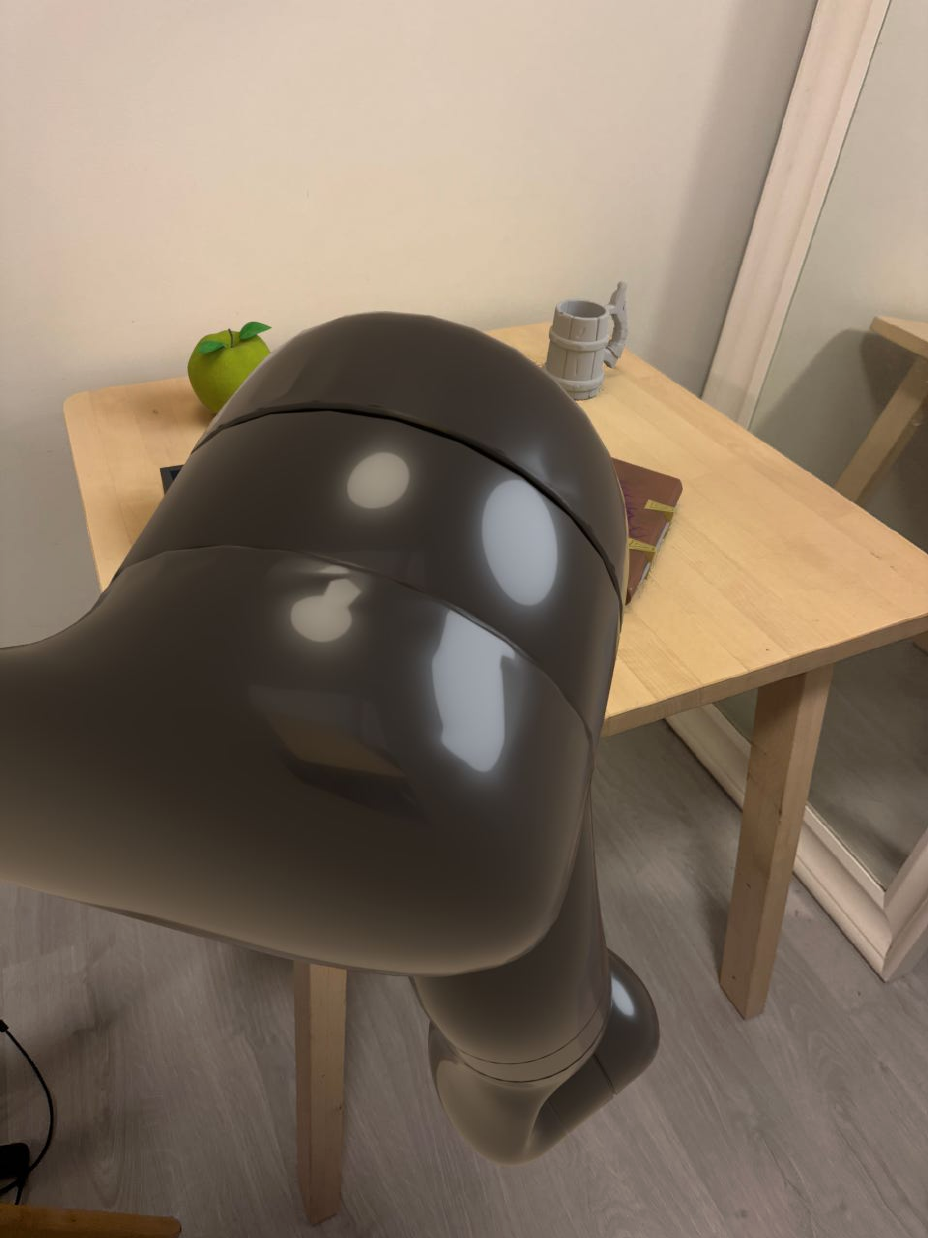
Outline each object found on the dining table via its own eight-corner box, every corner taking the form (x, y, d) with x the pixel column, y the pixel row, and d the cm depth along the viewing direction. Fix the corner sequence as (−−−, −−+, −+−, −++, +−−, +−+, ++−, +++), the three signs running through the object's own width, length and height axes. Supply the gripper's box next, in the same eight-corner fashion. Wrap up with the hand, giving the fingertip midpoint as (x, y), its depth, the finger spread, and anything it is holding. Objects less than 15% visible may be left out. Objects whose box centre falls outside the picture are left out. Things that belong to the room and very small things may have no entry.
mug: (527, 381, 112) (538, 284, 104) (597, 361, 118) (613, 268, 110) (567, 406, 108) (582, 307, 100) (638, 385, 113) (657, 290, 106)
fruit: (297, 418, 101) (291, 332, 95) (223, 443, 96) (212, 353, 90) (252, 388, 106) (244, 304, 100) (180, 409, 101) (167, 322, 95)
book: (688, 490, 96) (702, 449, 93) (626, 624, 79) (640, 580, 75) (545, 444, 100) (554, 403, 97) (456, 563, 82) (462, 518, 79)
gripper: (478, 708, 53) (340, 553, 63) (249, 807, 46) (139, 616, 57) (469, 790, 57) (343, 633, 68) (261, 891, 51) (158, 700, 62)
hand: (251, 626), depth 62 cm, fingers open, 3 cm apart
